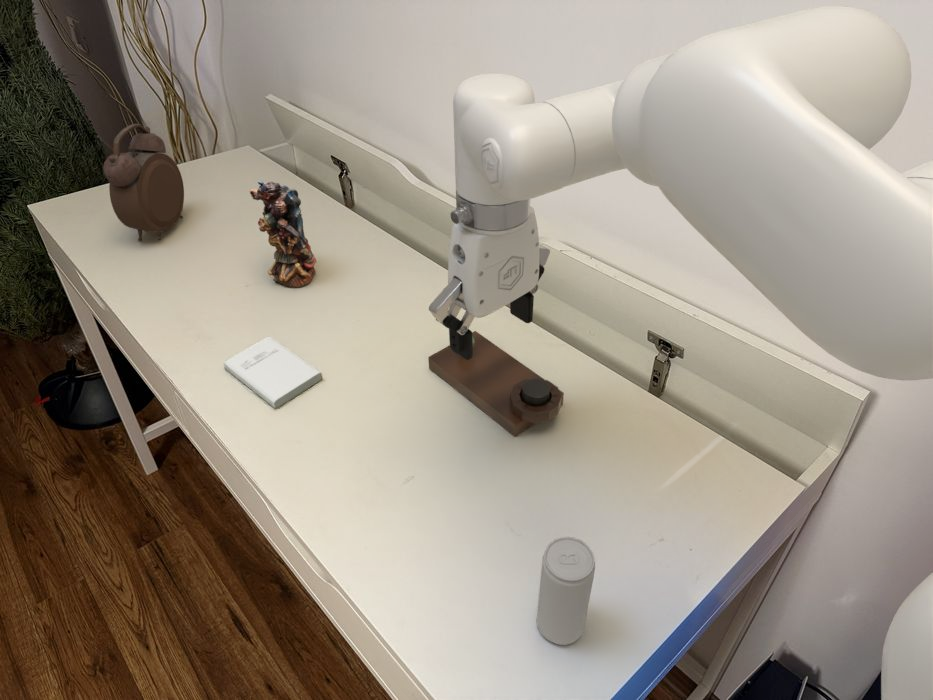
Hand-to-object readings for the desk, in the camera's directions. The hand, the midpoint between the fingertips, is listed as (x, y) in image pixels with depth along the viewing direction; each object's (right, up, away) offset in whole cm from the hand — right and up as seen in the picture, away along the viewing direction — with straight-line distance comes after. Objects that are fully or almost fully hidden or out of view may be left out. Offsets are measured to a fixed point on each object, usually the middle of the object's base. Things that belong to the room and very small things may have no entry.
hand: (492, 335), depth 82 cm
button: (+6, -8, +9) cm, 13 cm away
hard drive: (-31, -6, +19) cm, 37 cm away
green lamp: (-3, -1, +17) cm, 17 cm away
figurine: (-33, +10, +37) cm, 51 cm away
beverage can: (+6, -30, -11) cm, 32 cm away
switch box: (+2, -7, +15) cm, 17 cm away
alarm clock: (-61, +21, +50) cm, 82 cm away
